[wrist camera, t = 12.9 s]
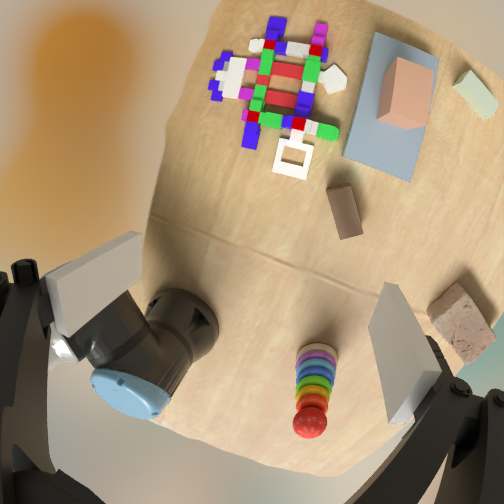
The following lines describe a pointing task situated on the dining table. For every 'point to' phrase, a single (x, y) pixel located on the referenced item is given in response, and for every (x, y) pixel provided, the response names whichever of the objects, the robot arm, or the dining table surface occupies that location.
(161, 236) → the dining table surface
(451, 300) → the brick
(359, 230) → the walnut block
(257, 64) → the building block set
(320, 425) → the stacking toy
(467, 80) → the sage block
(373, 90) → the base block
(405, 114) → the terracotta block
